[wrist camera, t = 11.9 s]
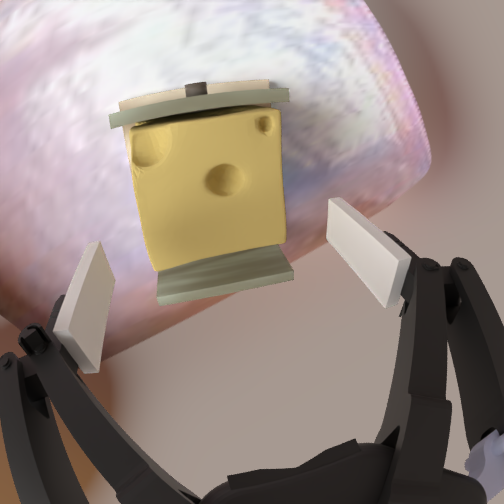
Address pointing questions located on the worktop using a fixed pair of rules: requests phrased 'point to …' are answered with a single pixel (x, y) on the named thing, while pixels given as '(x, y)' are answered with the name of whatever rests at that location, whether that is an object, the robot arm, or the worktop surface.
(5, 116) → the worktop surface
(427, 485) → the robot arm
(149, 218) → the cheese
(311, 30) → the worktop surface
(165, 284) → the holder
